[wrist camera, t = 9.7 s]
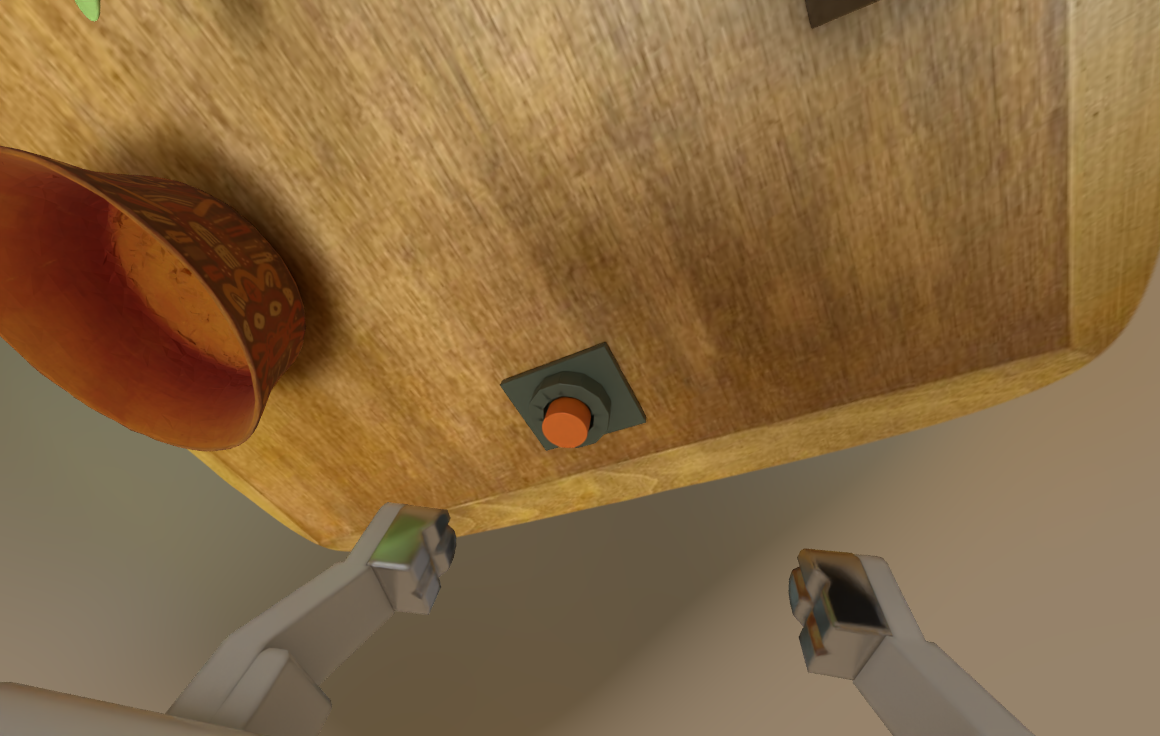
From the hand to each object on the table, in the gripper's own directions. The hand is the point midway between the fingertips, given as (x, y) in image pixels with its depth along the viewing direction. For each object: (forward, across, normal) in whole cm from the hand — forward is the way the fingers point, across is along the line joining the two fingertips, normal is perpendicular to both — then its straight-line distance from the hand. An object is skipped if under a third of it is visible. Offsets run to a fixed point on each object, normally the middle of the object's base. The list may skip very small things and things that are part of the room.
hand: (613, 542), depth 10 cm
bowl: (+23, +34, +3) cm, 41 cm away
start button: (+20, +5, +13) cm, 25 cm away
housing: (+22, +5, +13) cm, 26 cm away
